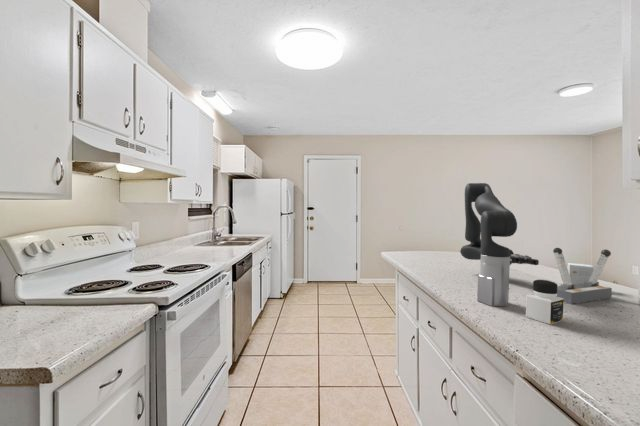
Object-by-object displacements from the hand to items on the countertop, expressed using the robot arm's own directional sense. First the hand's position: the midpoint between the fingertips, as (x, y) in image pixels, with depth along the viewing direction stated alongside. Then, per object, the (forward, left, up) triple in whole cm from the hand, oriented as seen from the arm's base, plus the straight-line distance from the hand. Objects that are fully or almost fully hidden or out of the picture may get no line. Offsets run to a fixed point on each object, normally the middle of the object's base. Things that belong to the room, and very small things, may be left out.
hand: (537, 262), depth 126 cm
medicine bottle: (-30, -23, -12) cm, 40 cm away
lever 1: (0, -12, -7) cm, 14 cm away
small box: (+23, -3, -12) cm, 26 cm away
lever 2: (+14, -12, -7) cm, 20 cm away
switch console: (+7, -12, -12) cm, 18 cm away
